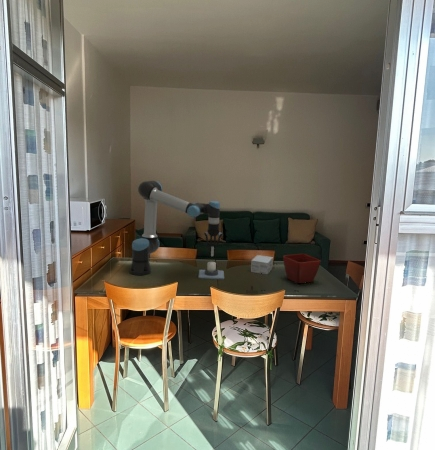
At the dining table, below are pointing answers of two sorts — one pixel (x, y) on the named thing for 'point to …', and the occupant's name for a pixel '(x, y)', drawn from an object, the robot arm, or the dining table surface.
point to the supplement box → (261, 264)
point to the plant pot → (301, 267)
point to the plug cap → (211, 266)
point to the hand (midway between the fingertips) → (212, 255)
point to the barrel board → (211, 274)
